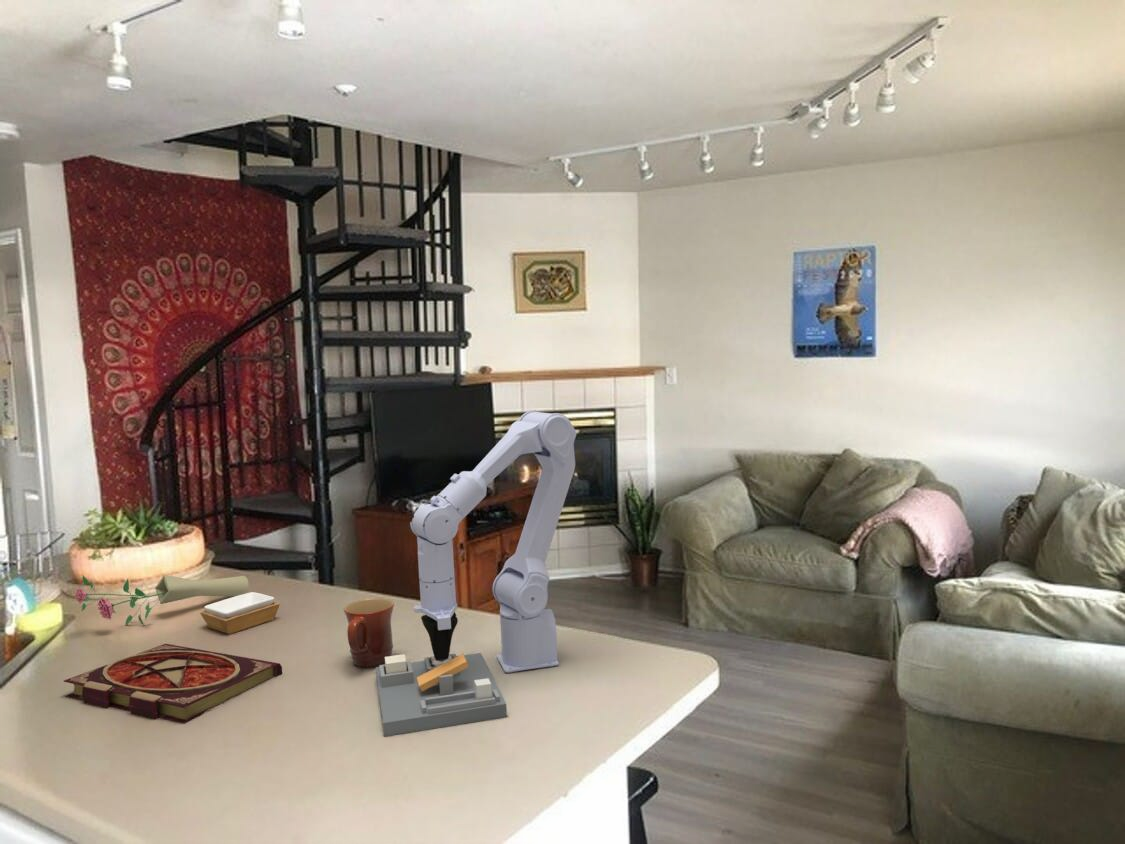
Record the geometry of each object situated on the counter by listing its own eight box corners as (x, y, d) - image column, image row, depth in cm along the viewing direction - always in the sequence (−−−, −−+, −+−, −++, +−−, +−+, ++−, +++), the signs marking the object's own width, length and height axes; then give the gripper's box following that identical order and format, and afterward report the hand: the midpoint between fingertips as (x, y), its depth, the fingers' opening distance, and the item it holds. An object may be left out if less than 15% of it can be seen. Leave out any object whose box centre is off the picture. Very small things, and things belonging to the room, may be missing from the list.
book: (282, 680, 145) (281, 652, 145) (180, 729, 126) (178, 697, 126) (168, 659, 158) (167, 633, 157) (60, 701, 139) (58, 672, 138)
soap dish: (255, 612, 181) (253, 589, 181) (281, 620, 175) (280, 596, 175) (200, 629, 171) (198, 605, 171) (226, 638, 165) (224, 613, 165)
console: (481, 663, 146) (480, 636, 145) (506, 716, 125) (505, 684, 124) (376, 678, 141) (374, 650, 141) (384, 736, 120) (382, 702, 120)
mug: (360, 651, 154) (356, 597, 153) (404, 653, 153) (401, 598, 152) (329, 677, 143) (325, 619, 142) (377, 679, 141) (373, 620, 140)
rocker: (466, 660, 134) (462, 653, 133) (470, 669, 130) (466, 661, 130) (420, 684, 132) (416, 677, 132) (422, 694, 128) (419, 686, 128)
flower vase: (245, 633, 190) (83, 646, 162) (219, 608, 197) (60, 617, 170) (260, 585, 189) (99, 591, 161) (233, 562, 196) (75, 564, 169)
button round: (451, 663, 140) (450, 653, 140) (453, 671, 137) (453, 660, 137) (430, 666, 139) (430, 655, 139) (433, 673, 136) (432, 663, 136)
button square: (405, 664, 137) (404, 654, 137) (406, 671, 134) (406, 661, 134) (385, 667, 137) (384, 656, 136) (386, 674, 133) (385, 663, 133)
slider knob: (489, 695, 128) (488, 678, 127) (491, 701, 125) (491, 683, 125) (475, 698, 127) (474, 680, 127) (477, 703, 125) (476, 685, 125)
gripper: (408, 569, 142) (412, 646, 144) (416, 593, 128) (421, 678, 130) (449, 565, 144) (453, 641, 146) (462, 588, 130) (466, 672, 132)
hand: (441, 658), depth 138 cm, fingers closed, pressing on button round
